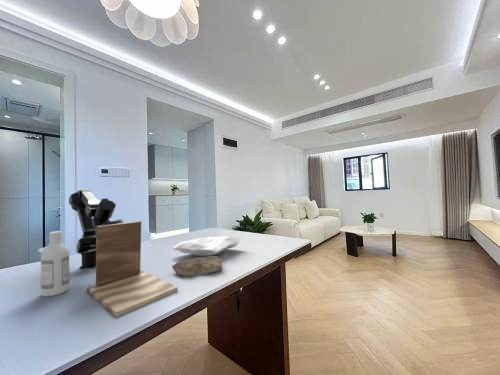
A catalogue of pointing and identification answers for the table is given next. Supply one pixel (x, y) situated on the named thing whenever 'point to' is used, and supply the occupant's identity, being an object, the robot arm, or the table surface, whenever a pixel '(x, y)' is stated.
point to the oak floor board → (131, 292)
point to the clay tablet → (198, 266)
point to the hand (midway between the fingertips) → (114, 258)
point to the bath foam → (54, 267)
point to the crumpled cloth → (207, 245)
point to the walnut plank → (117, 251)
